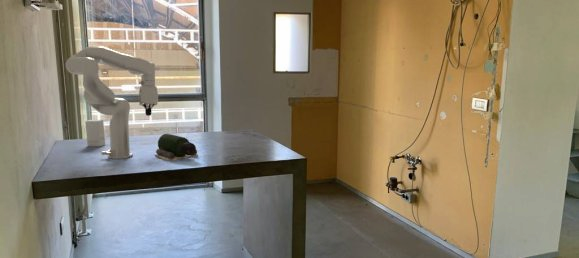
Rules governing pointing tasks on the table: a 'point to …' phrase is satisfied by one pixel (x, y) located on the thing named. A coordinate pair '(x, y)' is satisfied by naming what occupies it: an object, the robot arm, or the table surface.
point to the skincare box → (95, 133)
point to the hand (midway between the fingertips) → (148, 115)
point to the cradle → (171, 155)
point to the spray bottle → (176, 145)
